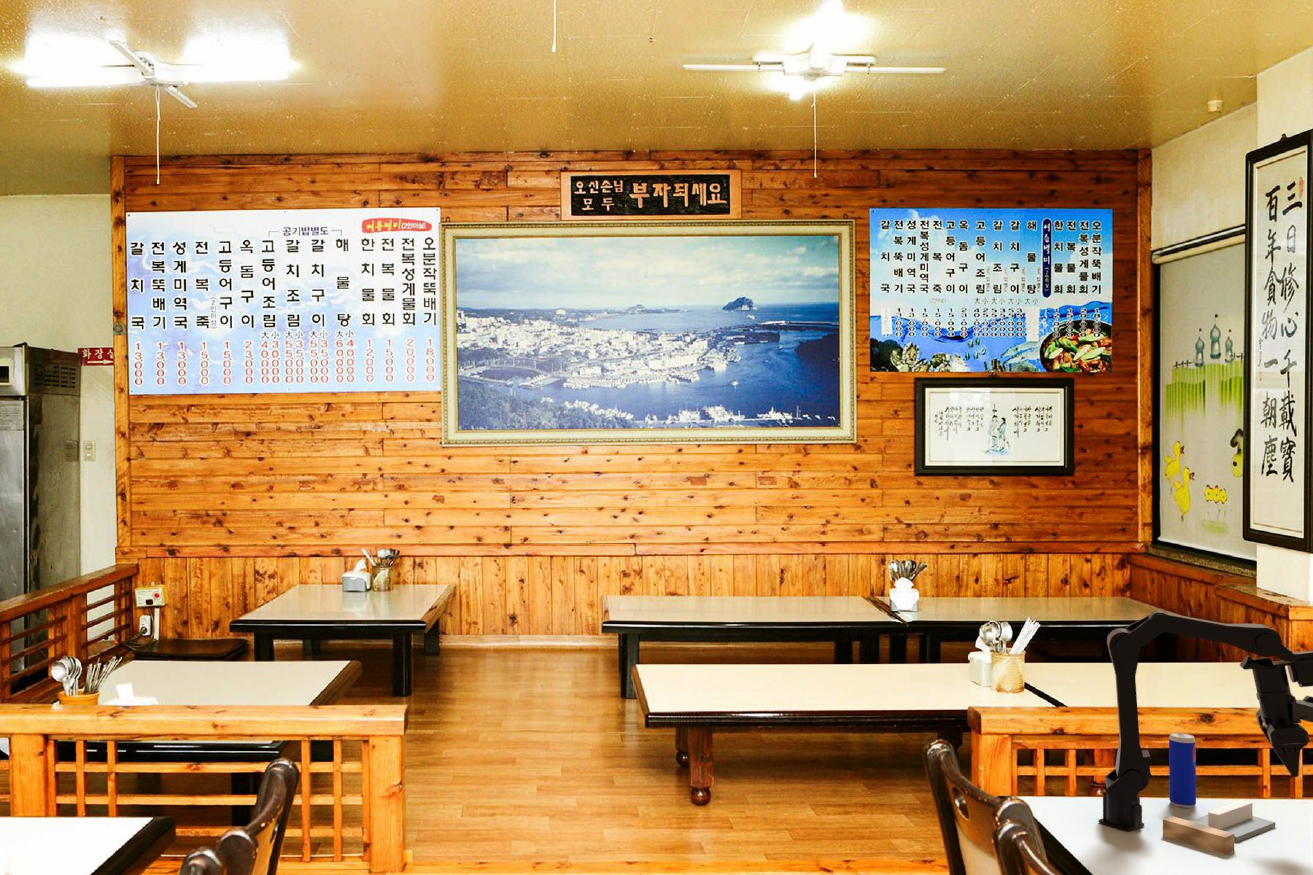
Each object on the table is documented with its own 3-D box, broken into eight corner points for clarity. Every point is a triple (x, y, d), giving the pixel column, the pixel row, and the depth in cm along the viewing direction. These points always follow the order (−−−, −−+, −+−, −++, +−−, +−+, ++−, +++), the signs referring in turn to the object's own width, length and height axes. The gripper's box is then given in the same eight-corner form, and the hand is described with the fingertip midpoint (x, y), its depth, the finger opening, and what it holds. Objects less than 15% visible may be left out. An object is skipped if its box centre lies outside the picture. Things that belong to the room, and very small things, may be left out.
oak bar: (1162, 836, 199) (1162, 819, 199) (1171, 833, 201) (1171, 815, 201) (1225, 856, 189) (1225, 837, 189) (1234, 852, 191) (1234, 833, 191)
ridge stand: (1185, 827, 204) (1185, 807, 204) (1225, 813, 213) (1224, 794, 213) (1236, 842, 196) (1236, 821, 196) (1275, 826, 205) (1275, 807, 205)
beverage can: (1199, 809, 216) (1198, 739, 216) (1173, 807, 217) (1173, 737, 217) (1191, 801, 221) (1191, 733, 221) (1166, 799, 222) (1165, 731, 222)
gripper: (1331, 695, 185) (1350, 781, 183) (1310, 676, 202) (1328, 755, 200) (1263, 700, 189) (1281, 784, 188) (1248, 681, 206) (1265, 758, 205)
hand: (1290, 769), depth 195 cm, fingers open, 9 cm apart
